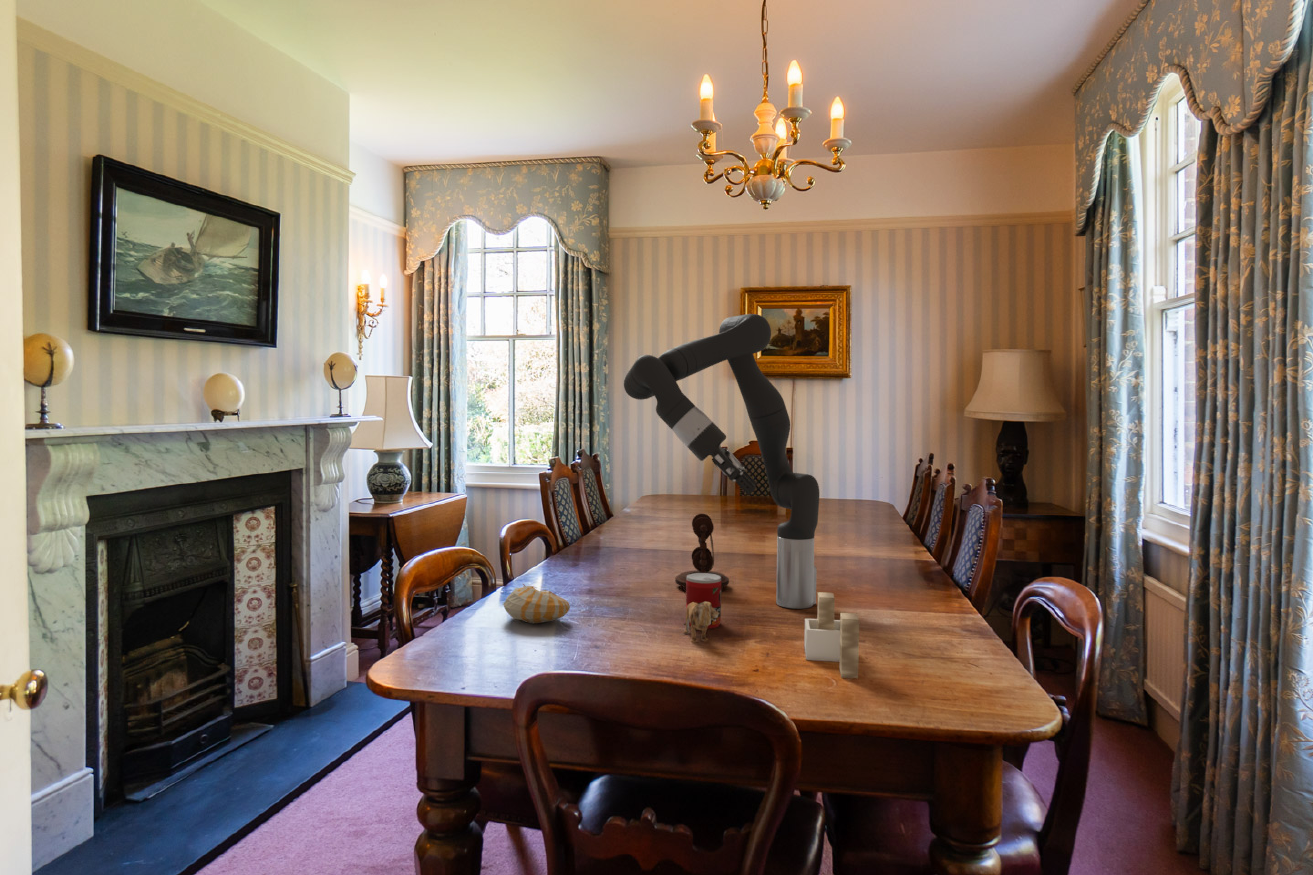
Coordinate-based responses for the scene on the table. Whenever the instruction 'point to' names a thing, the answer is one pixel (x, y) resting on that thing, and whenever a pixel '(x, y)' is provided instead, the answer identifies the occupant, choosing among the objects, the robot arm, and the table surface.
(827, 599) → the tall square pillar
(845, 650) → the beige rectangular block
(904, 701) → the table surface
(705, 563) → the brown double wheel stand
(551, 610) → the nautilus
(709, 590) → the canned food
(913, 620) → the table surface
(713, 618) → the lion figurine
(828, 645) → the open square box
